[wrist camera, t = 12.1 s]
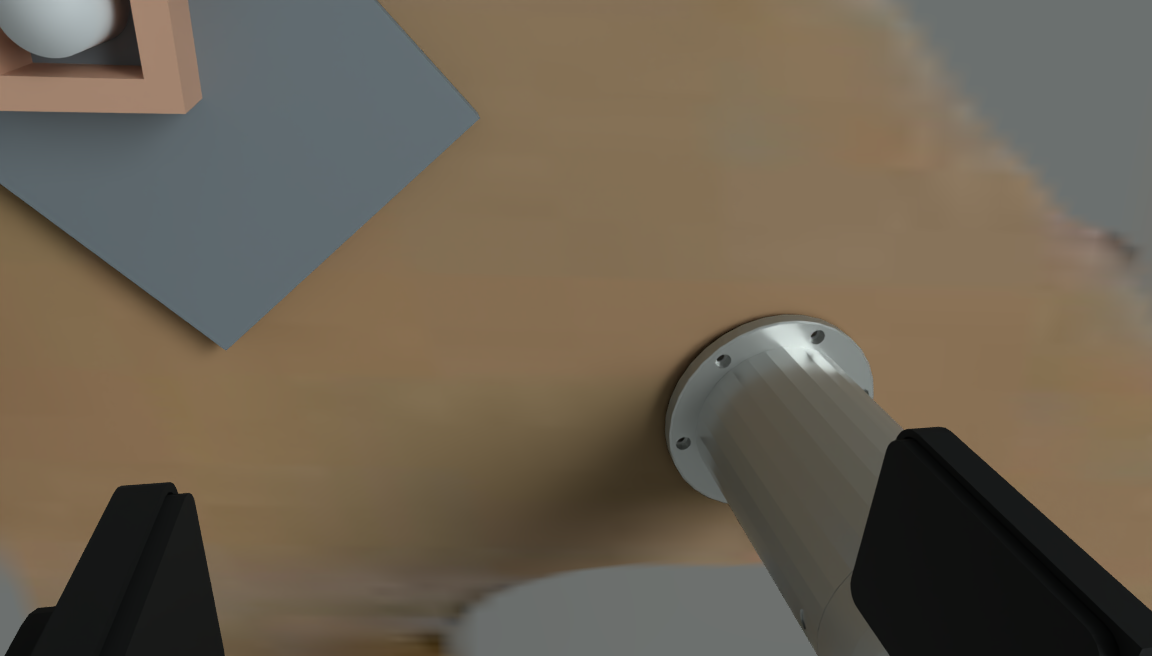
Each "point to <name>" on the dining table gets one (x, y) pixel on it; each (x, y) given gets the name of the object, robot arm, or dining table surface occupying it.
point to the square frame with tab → (112, 71)
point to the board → (230, 146)
